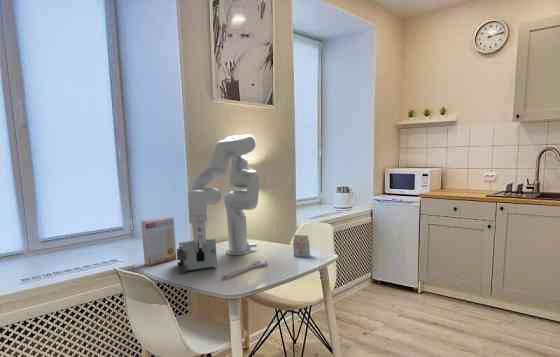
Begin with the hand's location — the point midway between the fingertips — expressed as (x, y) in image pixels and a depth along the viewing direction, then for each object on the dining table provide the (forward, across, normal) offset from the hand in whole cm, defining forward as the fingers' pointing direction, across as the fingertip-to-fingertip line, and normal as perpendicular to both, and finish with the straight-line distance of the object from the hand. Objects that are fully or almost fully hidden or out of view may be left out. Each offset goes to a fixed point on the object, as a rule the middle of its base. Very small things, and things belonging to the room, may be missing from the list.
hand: (200, 259), depth 149 cm
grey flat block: (+3, 0, 0) cm, 3 cm away
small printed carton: (+5, +1, -48) cm, 48 cm away
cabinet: (+4, +6, +2) cm, 7 cm away
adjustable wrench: (+5, -10, -17) cm, 20 cm away
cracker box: (+5, +22, +18) cm, 28 cm away
